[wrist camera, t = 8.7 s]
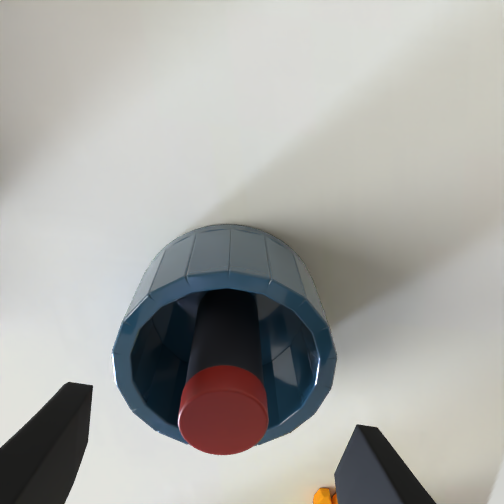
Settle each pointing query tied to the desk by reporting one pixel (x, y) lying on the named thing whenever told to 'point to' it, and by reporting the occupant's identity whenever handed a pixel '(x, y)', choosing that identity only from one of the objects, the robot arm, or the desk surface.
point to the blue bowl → (184, 318)
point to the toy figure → (324, 497)
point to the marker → (224, 377)
